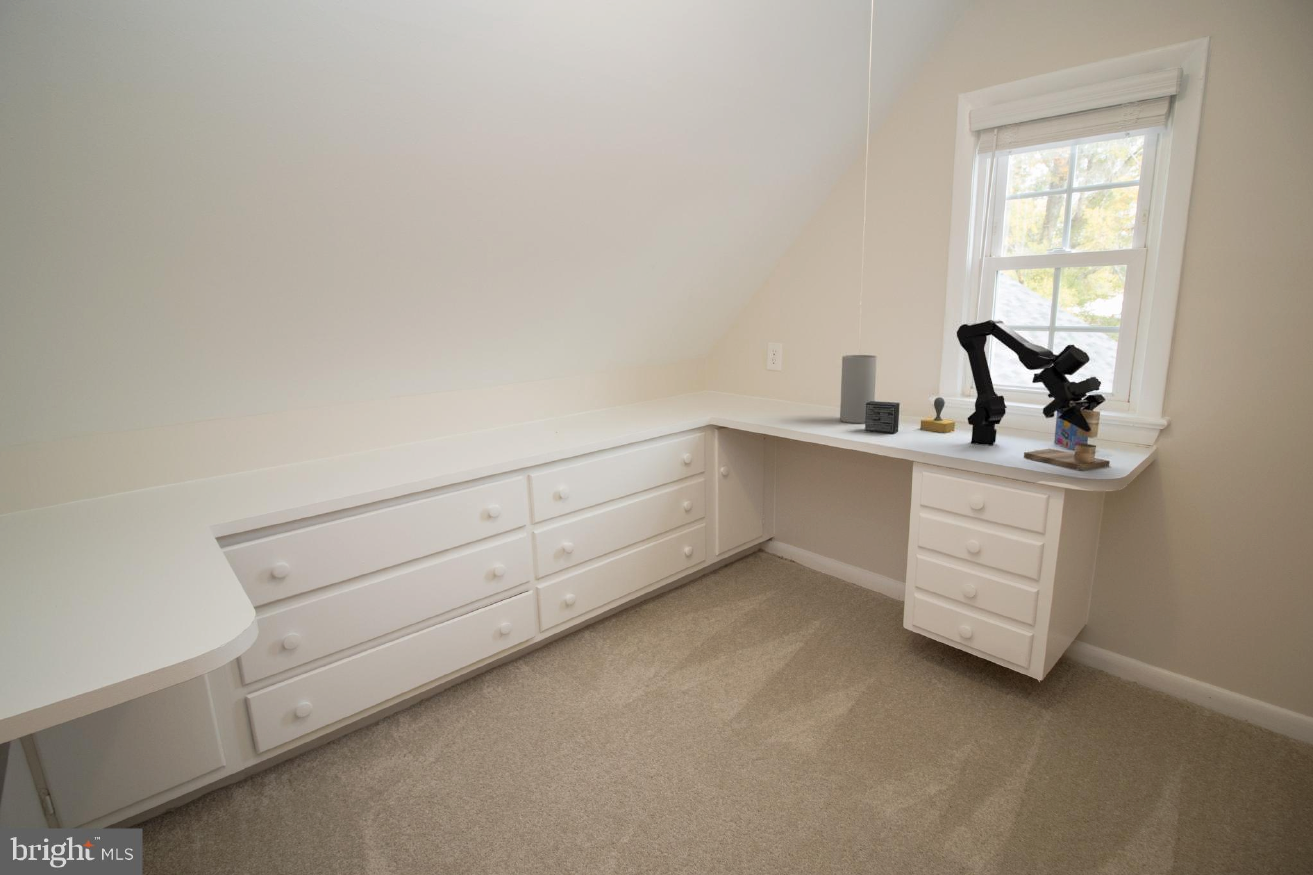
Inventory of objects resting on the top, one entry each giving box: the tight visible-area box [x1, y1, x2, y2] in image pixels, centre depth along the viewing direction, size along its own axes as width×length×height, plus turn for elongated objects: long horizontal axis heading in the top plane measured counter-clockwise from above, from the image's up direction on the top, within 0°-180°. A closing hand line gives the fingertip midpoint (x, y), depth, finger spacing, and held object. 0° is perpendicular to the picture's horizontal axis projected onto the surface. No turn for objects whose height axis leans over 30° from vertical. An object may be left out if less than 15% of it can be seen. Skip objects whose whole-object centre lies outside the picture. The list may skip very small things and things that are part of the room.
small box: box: [864, 401, 900, 435], centre depth 230 cm, size 11×6×10 cm, turn 58°
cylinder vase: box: [839, 354, 878, 425], centre depth 249 cm, size 12×12×25 cm
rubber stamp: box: [919, 396, 956, 434], centre depth 230 cm, size 10×6×12 cm, turn 35°
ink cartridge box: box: [1054, 411, 1089, 450], centre depth 201 cm, size 10×6×14 cm, turn 174°
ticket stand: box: [1023, 443, 1111, 471], centre depth 184 cm, size 18×11×6 cm, turn 24°
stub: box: [1077, 410, 1101, 439], centre depth 177 cm, size 4×2×7 cm, turn 23°
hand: (1092, 430), depth 176 cm, fingers closed on stub, 2 cm apart
